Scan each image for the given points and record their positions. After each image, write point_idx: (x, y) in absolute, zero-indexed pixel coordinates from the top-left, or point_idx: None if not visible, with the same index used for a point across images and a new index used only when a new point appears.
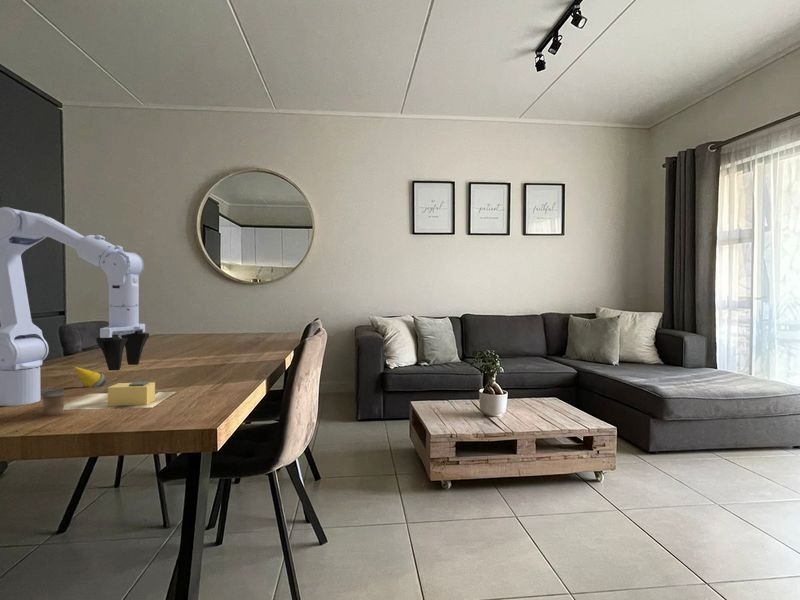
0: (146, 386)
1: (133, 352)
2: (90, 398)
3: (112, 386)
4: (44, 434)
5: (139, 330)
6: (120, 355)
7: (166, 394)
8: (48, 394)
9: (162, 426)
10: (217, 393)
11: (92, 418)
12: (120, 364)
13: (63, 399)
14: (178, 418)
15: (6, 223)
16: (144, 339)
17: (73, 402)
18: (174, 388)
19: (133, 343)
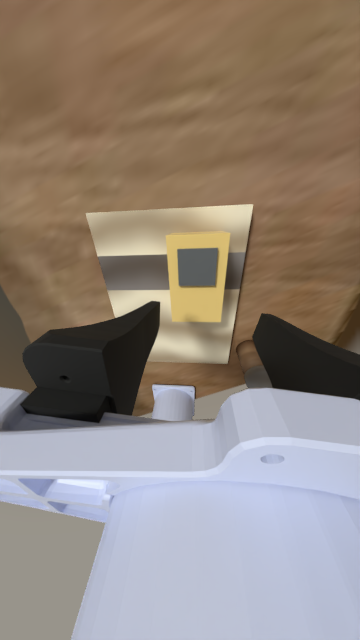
0: (226, 235)
1: (147, 335)
2: (158, 348)
3: (209, 317)
4: (337, 327)
5: (34, 416)
6: (307, 335)
7: (117, 226)
8: None
9: None
10: (21, 71)
11: (259, 304)
12: (277, 318)
13: (253, 360)
14: (343, 84)
15: None
16: (108, 332)
17: (183, 357)
18: (20, 252)
19: (135, 362)
